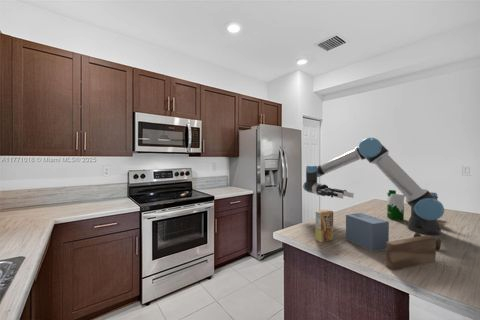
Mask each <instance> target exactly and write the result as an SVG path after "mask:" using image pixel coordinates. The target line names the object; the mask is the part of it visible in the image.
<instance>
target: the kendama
mask: <svg viewBox="0 0 480 320" xmlns="http://www.w3.org/2000/svg"><path fill="white" fill-rule="evenodd" d="M419 236H423V235H422V234H421V233H419V232H415V233H414V234H413V237H419ZM435 238H436V251H439V250H441V247H442V240H441V238H439V237H438V238H437V237H435Z"/></svg>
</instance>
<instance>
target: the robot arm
mask: <svg viewBox="0 0 480 320" xmlns="http://www.w3.org/2000/svg"><path fill="white" fill-rule="evenodd" d="M359 160H362V161H363V160H366V161H368V162H369V164H373V165H375V166H376V167H377V168H378V169H379V170H380V171H381V172H382V173H383V175H384V176H385V177H387V179H388V180H389V181H390V182H391V183H392V185H394V186H395V187H396V188H397V189H398V191H400V193H401V194H403V195H404V196H405V197H404V198H405V202H406V203H407V204H408V205H409V207H410V209H411V210H410V217H409V219H408V222H407V224H406V225H407V226H406V228H407V229H408V230H410V231H411V232H412V231H413V232H415V233H416V232H418V233H419V234H423V235H430V236H432V235H433V236H434V235H436V236H437V235H441V234H442V228H441V225H440V223H439V220H438V219H440V218H441V217H443V215H444V213H445V207H444V205H443V203H442V202H441V201H439V200H438V198H439V197H438V194H437V192H431V191H429V190H428V189H425V188H422V187H421V186H420V185H419V184H417V182H416V181H415V180H414V179H413V178H412V177H411V176H410V175H409V174H408V173H407V172H406V171H405V170H404V169H403V168H402V167H401V166H400V165H399V164H398V162H396V161H395V160H394V159H393V158H392V157H391V156H390V155H389V149H387V148H386V147H385V145H383V144H382V143H381V141H380V140H379V139H377V138H376V137H366V138H364V139H363V140H361V141H360V142H359V145H358V146H356V147H355V148H354V149H353V150H350V151H347V152H346V153H344V154H342V155H340V156H337V157H335V158H332V159H331V160H329V161H326V162H324V163H322V164H320V165H314V164H313V165H312V164H311V165H309V164H308V165H306V169H305V180H306V181H305V182H304V183H303V185H302V188H303V190H304V191H305V192H308V193H312V194H314V195H316V196H322V197H325V196H326V197H330V198H334V197H335V198H338V199H344V197H347V198H352V199H353V198H354V192H350V191H348V190H346V189H344V190H343V189H339V188H331V187H329V186H328V185H327V184H324V183H319V182H318V178H320V177H322V176H325V175H326V174H328V173H331V172H333V171H336V170H338V169H340V168H342V167H345V166H347V165H349V164H352V163H354V162H357V161H359Z"/></svg>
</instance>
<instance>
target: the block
mask: <svg viewBox="0 0 480 320" xmlns="http://www.w3.org/2000/svg"><path fill="white" fill-rule="evenodd" d="M389 230H390V222H389V221H388V220H384V219H381V218H378V217H376V216H371V215H369V214H366V213H362V212H359V213H357V212H356V213H350V214H349V213H347V214H345V239H346V240H348V241H350V242H352V243H355V244H356V245H359V246H360V247H363V248H365V249H367V250H369V251H371V252H376V251H382V250H386V242H389V241H390V240H389V239H390V238H389V237H390V234H389V232H390V231H389Z"/></svg>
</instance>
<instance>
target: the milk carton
mask: <svg viewBox="0 0 480 320" xmlns="http://www.w3.org/2000/svg"><path fill="white" fill-rule="evenodd" d="M386 196H387V197H386V198H387V206H386V207H387V209H386V210H387V212H386V213H387V215H386V217H387V218H388V219H390V220H392V221H404V219H405V216H404V215H405V198H406V197H405V196H404V195H403V193H402V192H397V190H395V189H388V192H386Z"/></svg>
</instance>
